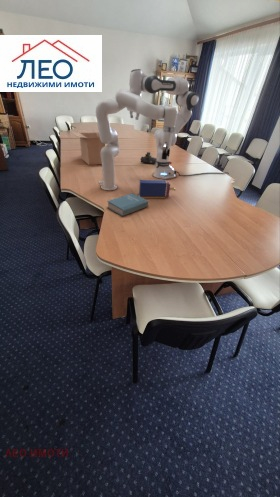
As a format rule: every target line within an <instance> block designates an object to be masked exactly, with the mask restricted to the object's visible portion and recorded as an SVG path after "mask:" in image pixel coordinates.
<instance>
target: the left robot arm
mask: <svg viewBox="0 0 280 497" xmlns="http://www.w3.org/2000/svg"><path fill="white" fill-rule="evenodd" d="M129 90H130V89H119V90H117V91H116V93H115V97H112V98H105V99H101V100H100V101H99V102H98V103H97V104H96V107H95V116H96V122H97V129H98V132H99V136H100V140H101V142H102V143H103V144H105V147H103V148H102V149H101V152H100V155H101V160H102V164H101V169H102V170H101V171H102V180H98V184H99V185H101V186H100V188H101V190H103V191H114V190H117V188H118V186H117V185H116V170H115V168H116V166H115V160H114V158H116V157H118V155H119V154H120V145H119V144H120V142H119V137H118V136H119V135H118V133H117V130H116V129H115V128H114V127H111V121H110V118H109V115H114V114H117V113H120V111H122V110H124V109H125V108H126V109H127V108H129V109H131V110H134V111H136V112H138V113H140V114H139V115H141V116H143V117H145V118H148V119H150V120H154V121H158V120H163V125H162V126H163V127H162V129H163V132H164V134H163V140H162V147H161V148H162V149H163V152H162V159H165V160H166V159H167V156H169V157H170V153H171V147H172V146H171V143H172V135H173V133H174V132H175V125H176V117H177V113H178V107H176V106H172V105H171V106H166V105H162V104H153V103H151V102H148V101H146V100H145V99H144V98H143V96H142V95H141V96H138V95H136V94H133V93H131V92H130V91H129Z"/></svg>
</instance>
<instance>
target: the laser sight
mask: <svg viewBox="0 0 280 497" xmlns="http://www.w3.org/2000/svg"><path fill="white" fill-rule="evenodd" d="M156 159H157V157H153V156H152V155H151V152H149V151H148V152H147V151H146V154H145V156H144V155H143V156H141V157H140V159H139V160H140V163H143V164H150V165H155V164H156Z"/></svg>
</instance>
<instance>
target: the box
mask: <svg viewBox="0 0 280 497" xmlns="http://www.w3.org/2000/svg"><path fill="white" fill-rule="evenodd" d="M70 133H71V134H72V135H74V136H75V137H77V138H79V144H80V153H81V160H83V162H85V163H86V165H87V166H95V165H97V166H98V165H102V160H101V155H100V152H101V149H102V148H103V147H105V146H106V144H103V143H102V142H101V140H100V136H99V131H98V132H96V131H95V130H92V129H91V130H77V132H76V131H70Z"/></svg>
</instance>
